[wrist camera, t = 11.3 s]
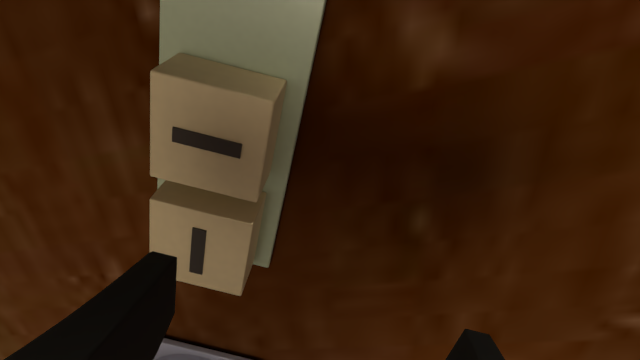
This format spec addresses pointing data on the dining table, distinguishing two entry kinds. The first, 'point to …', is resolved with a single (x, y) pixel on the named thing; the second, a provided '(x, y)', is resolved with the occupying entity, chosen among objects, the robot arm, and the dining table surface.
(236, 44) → the word board
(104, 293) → the robot arm
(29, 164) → the dining table surface
